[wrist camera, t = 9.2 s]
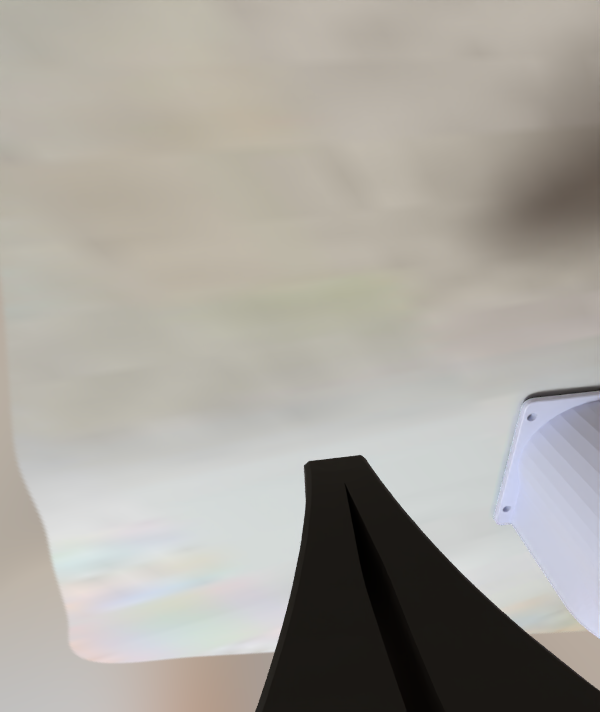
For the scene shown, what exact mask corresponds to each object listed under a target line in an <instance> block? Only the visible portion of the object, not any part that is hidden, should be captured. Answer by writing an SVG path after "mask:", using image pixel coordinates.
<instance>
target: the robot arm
mask: <svg viewBox="0 0 600 712" xmlns="http://www.w3.org/2000/svg"><path fill="white" fill-rule="evenodd" d="M530 414H531V415H530ZM529 415H530V416H529ZM304 474H305V494H306V507H305V517H304V525H303V532H302V540H301V546H300V552H299V557H298V562H297V567H296V571H295V576H294V581H293V586H292V590H291V594H290V599H289V603H288V607H287V611H286V614H285V618H284V622H283V625H282V629H281V633H280V636H279V640H278V643H277V646H276V650H275V653H274V656H273V660H272V663H271V666H270V669H269V673H268V676H267V679H266V682H265V685H264V688H263V691H262V694H261V697H260V700H259V703H258V706H257V708H256V711H255V712H600V691H599V690H598V689H597V688H595V687H594V686H593V685H591V684H590V683H589V682H587V681H586V680H585V679H584V678H582V677H581V676H580V675H579V674H577V673H576V672H575V671H574V670H572V669H571V668H570V667H569V666H567V665H566V664H565V663H564V662H562V661H561V660H560V659H559V658H557V657H556V656H555V655H554V654H552V653H551V652H550V651H548V650H547V649H546V648H545V647H544V646H542V645H541V644H540V643H539V642H537V641H536V640H535V639H534V638H532V637H531V636H530V635H529V634H528V633H526V632H525V631H524V630H523V629H522V628H521V627H519V626H518V625H517V624H516V623H515V622H514V621H513V620H511V619H510V618H509V617H508V616H507V615H506V614H505V613H504V612H502V611H501V610H500V609H499V608H498V607H497V606H496V605H495V604H494V603H492V602H491V601H490V600H489V599H488V598H487V597H486V596H485V595H484V594H483V593H482V592H481V591H480V590H478V589H477V588H476V587H475V586H474V585H473V584H472V583H471V582H470V581H469V580H468V579H467V578H466V577H465V576H464V575H463V574H462V573H461V572H460V571H459V570H458V569H457V568H456V567H455V566H454V565H453V564H452V563H451V562H450V561H449V560H448V559H447V558H446V557H445V556H444V554H443V553H442V552H441V551H440V550H439V549H438V548H437V547H436V546H435V545H434V544H433V543H432V542H431V541H430V539H429V538H428V537H427V536H426V535H425V534H424V533H423V532H422V530H421V529H420V528H419V527H418V526H417V525H416V523H415V522H414V521H413V520H412V519H411V518H410V516H409V515H408V514H407V513H406V512H405V511H404V509H403V508H402V507H401V506H400V504H399V503H398V502H397V501H396V500H395V498H394V497H393V496H392V494H391V493H390V492H389V491H388V489H387V488H386V487H385V485H384V484H383V483H382V481H381V480H380V479H379V477H378V476H377V475H376V473H375V472H374V470H373V469H372V468H371V466H370V465H369V463H368V462H367V460H366V459H365V458H364V457H363V456H361V455H358V456H349V457H341V458H332V459H324V460H315V461H309V462H307V463H306V464H305V465H304ZM493 519H494V521H495V522H496V524H498V525H507V524H512V526H513V527H514V529H515V530H516V532H517V533H518V535H519V536H520V538H521V539H522V541H523V542H524V544H525V546H526V547H527V549H528V550H529V552H530V553H531V555H532V556H533V558H534V559H535V561H536V562H537V564H538V565H539V567H540V568H541V570H542V571H543V573H544V574H545V576H546V577H547V579H548V580H549V582H550V584H551V585H552V587H553V588H554V590H555V591H556V593H557V594H558V596H559V597H560V599H561V600H562V602H563V603H564V605H565V606H566V608H567V609H568V610H569V612H570V613H571V614H572V615H573V616H574V618H575V619H576V620H577V621H578V622H579V623H580V624H581V625H583V626H584V627H585V628H586V629H587V630H588V631H590V632H591V633H592V634H594V635H595V636H596V637H598V638H599V639H600V391H592V392H583V393H574V394H565V395H556V396H547V397H538V398H531V399H528V400H526V401H525V402H524V403H523V404H522V406H521V410H520V414H519V418H518V422H517V426H516V430H515V434H514V438H513V441H512V445H511V449H510V453H509V457H508V461H507V465H506V469H505V473H504V477H503V481H502V485H501V488H500V492H499V496H498V500H497V504H496V508H495V512H494V516H493Z"/></svg>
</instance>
